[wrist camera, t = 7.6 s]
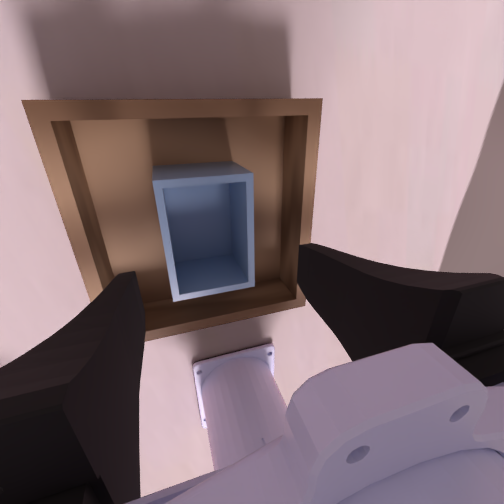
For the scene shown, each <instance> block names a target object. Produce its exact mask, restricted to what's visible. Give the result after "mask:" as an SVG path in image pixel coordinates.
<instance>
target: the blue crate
mask: <svg viewBox="0 0 504 504" xmlns="http://www.w3.org/2000/svg"><path fill="white" fill-rule="evenodd" d="M152 182H153V188H154V194H155V200H156V205H157V211H158V217H159V223H160V228H161V234H162V240H163V246H164V251H165V257H166V263H167V269H168V274H169V280H170V286H171V291H172V297H173V302H176V301H181V300H186V299H191V298H197V297H202V296H207V295H212V294H218V293H223V292H228V291H233V290H239V289H244V288H249V287H255V262H254V178H253V173H252V172H251V171H249V170H247V169H246V168H244V167H242V166H240V165H239V164H237V163H235V162H233V161H223V162H207V163H191V164H175V165H158V166H153V172H152Z"/></svg>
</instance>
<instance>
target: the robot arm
mask: <svg viewBox="0 0 504 504" xmlns="http://www.w3.org/2000/svg"><path fill="white" fill-rule="evenodd" d="M297 284H298V286H299V287H300V289H301V291H302V293H303V294H304V296H305V298H306V299H307V300H308V302H309V303H310V304H311V306H312V307H313V308H314V309H315V311H316V312H317V313H318V314H319V315H320V317H321V318H322V319H323V320H324V322H325V323H326V324H327V325H328V327H329V328H330V329H331V330H332V331H333V333H334V334H335V335H336V337H337V338H338V340H339V341H340V343H341V344H342V346H343V347H344V349H345V350H346V352H347V353H348V355H349V357H350V358H351V360H352V362H349V363H346V364H343V365H339V366H336V367H332V368H329V369H327V370H325V371H323V372H321V373H319V374H317V375H315V376H313V377H311V378H309V379H308V380H307V381H306V382H305V383H304V384H303V385H301V386H300V387H299V388H298V389H297V390H296V391H295V392H294V393H293V395H292V398H291V400H290V403H289V405H288V408H287V406H286V404H285V402H284V399H283V397H282V395H281V393H280V391H279V388H278V386H277V384H276V382H275V380H274V351H275V348H274V346H273V344H266V345H262V346H258V347H254V348H250V349H246V350H242V351H238V352H234V353H230V354H226V355H222V356H218V357H214V358H211V359H207V360H203V361H199V362H196V363H194V365H193V372H194V378H195V385H196V391H197V397H198V403H199V409H200V416H201V422H202V427H203V428H207V430H208V436H209V442H210V448H211V454H212V460H213V466H214V471H213V472H210V473H208V474H205V475H202V476H199V477H196V478H194V479H191V480H188V481H185V482H183V483H180V484H177V485H174V486H172V487H169V488H166V489H163V490H161V491H158V492H155V493H152V494H150V495H147V496H144V497H140V460H139V389H140V377H141V369H142V360H143V352H144V343H145V334H146V328H145V310H144V306H143V301H142V297H141V293H140V289H139V285H138V281H137V276H136V272H135V271H131V272H125V273H119V274H118V275H117V276H116V277H115V278H114V279H113V280H112V281H111V282H110V283H109V284H108V285H107V287H106V288H105V289H104V290H103V291H102V292H101V293H100V294H99V295H98V296H97V297H96V298H95V299H94V300H93V301H92V302H91V303H90V304H89V305H88V306H87V307H86V308H85V309H84V310H82V311H81V312H80V313H79V314H78V315H77V316H76V317H75V318H74V319H72V320H71V321H70V322H69V323H68V324H66V325H65V326H64V327H62V328H61V329H60V330H59V331H57V332H56V333H55V334H53V335H52V336H50V337H49V338H48V339H46V340H45V341H43V342H42V343H40V344H39V345H37V346H36V347H34V348H32V349H31V350H29V351H28V352H26V353H25V354H23V355H22V356H20V357H18V358H17V359H15V360H13V361H12V362H10V363H8V364H7V365H5V366H3V367H1V368H0V504H504V277H501V276H499V275H496V274H491V273H449V272H436V271H425V270H418V269H410V268H403V267H398V266H393V265H388V264H383V263H378V262H374V261H371V260H367V259H363V258H360V257H356V256H353V255H350V254H347V253H344V252H341V251H338V250H334V249H331V248H328V247H325V246H322V245H318V244H313V243H308V244H302V245H299V252H298V268H297ZM199 370H200V371H199Z"/></svg>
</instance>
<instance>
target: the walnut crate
mask: <svg viewBox="0 0 504 504" xmlns="http://www.w3.org/2000/svg"><path fill="white" fill-rule="evenodd" d="M322 99H323V98H316V99H129V100H21V101H22V104H23V106H24V109H25V112H26V115H27V118H28V121H29V124H30V127H31V130H32V133H33V136H34V138H35V141H36V144H37V147H38V150H39V153H40V156H41V159H42V162H43V165H44V168H45V170H46V173H47V176H48V179H49V182H50V185H51V188H52V191H53V194H54V197H55V200H56V202H57V205H58V208H59V211H60V214H61V217H62V220H63V223H64V226H65V229H66V232H67V234H68V237H69V240H70V243H71V246H72V249H73V252H74V255H75V258H76V261H77V264H78V266H79V269H80V272H81V275H82V278H83V281H84V284H85V287H86V290H87V293H88V296H89V298H90V301H91V302H92V301H93V300H94V299H95V298H96V297H97V296H98V295H99V294H100V293H101V292H102V291H103V290H104V289H105V288H106V287H107V285H108V284H109V283H110V282H111V281H112V280H113V279H114V278H115V277H116V276H117V275H118V274H119V273H125V272H131V271H135V272H136V276H137V281H138V285H139V289H140V293H141V297H142V301H143V306H144V310H145V328H146V334H145V341H150V340H154V339H159V338H163V337H168V336H172V335H177V334H181V333H186V332H190V331H195V330H199V329H204V328H208V327H213V326H217V325H221V324H226V323H230V322H235V321H239V320H244V319H248V318H253V317H257V316H262V315H266V314H271V313H275V312H280V311H284V310H289V309H293V308H297V307H302V306H305V301H306V298H305V296H304V294H303V293H302V291H301V289H300V287H299V286H298V284H297V268H298V252H299V245H302V244H308V243H310V242H311V230H312V218H313V206H314V194H315V182H316V171H317V159H318V147H319V135H320V123H321V111H322ZM223 161H233V162H235V163H237V164H239V165H240V166H242V167H244V168H246V169H247V170H249V171H251V172H252V173H253V178H254V262H255V287H249V288H244V289H239V290H233V291H228V292H223V293H218V294H212V295H207V296H202V297H197V298H191V299H186V300H181V301H176V302H173V297H172V291H171V286H170V280H169V274H168V269H167V263H166V257H165V251H164V246H163V240H162V234H161V228H160V223H159V217H158V211H157V205H156V200H155V194H154V188H153V182H152V172H153V166H158V165H175V164H191V163H207V162H223Z"/></svg>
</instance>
